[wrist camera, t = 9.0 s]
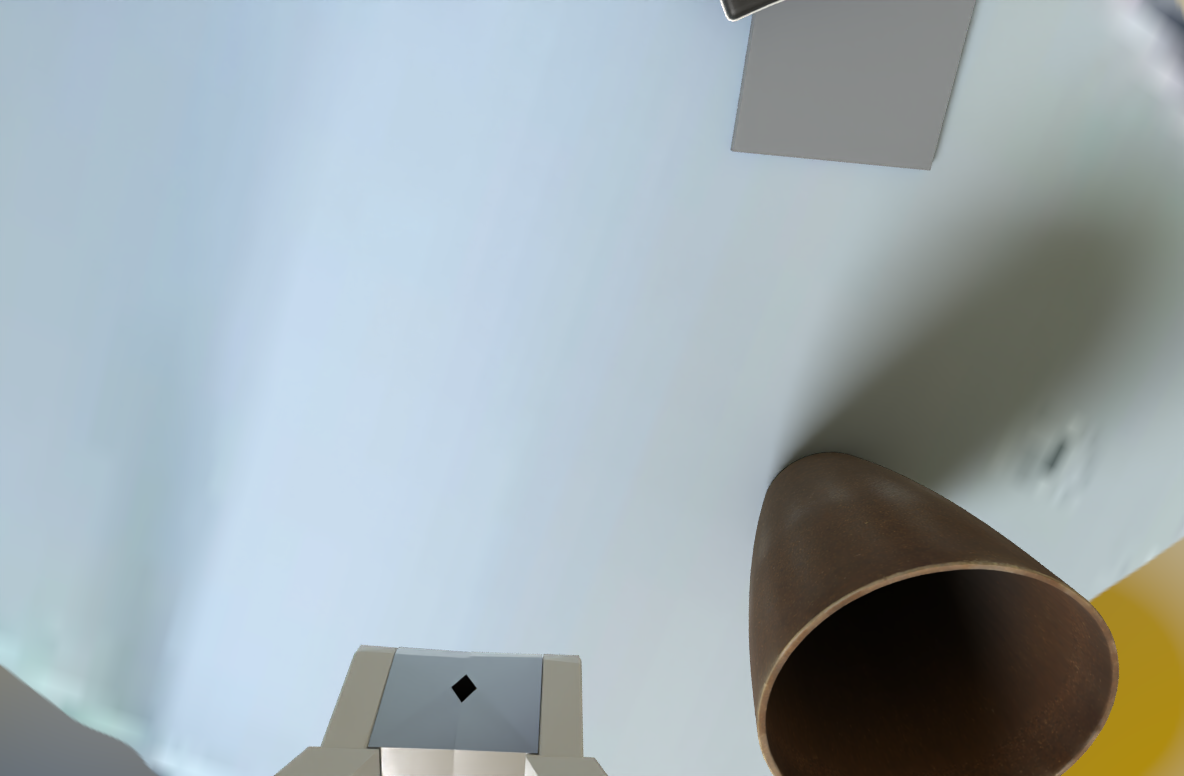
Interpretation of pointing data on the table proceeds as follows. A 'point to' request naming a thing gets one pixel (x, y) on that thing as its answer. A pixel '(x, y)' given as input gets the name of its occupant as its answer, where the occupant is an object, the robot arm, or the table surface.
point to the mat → (850, 79)
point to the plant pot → (913, 636)
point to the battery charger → (744, 7)
